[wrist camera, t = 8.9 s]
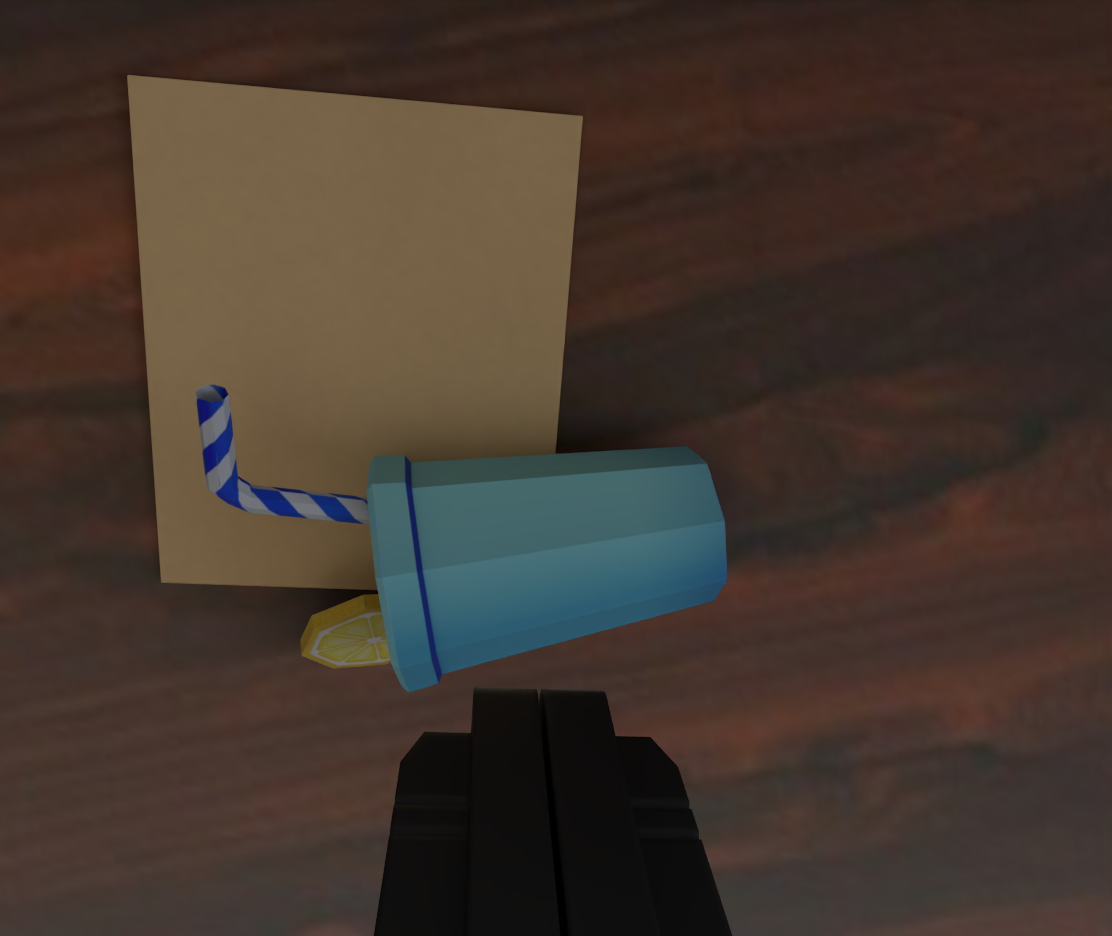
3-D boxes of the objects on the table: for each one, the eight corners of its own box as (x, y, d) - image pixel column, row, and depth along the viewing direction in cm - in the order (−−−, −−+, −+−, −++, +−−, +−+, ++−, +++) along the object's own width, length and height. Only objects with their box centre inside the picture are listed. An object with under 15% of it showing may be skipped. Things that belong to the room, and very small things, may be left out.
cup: (681, 259, 27) (189, 319, 25) (776, 402, 22) (147, 493, 20) (659, 563, 36) (295, 624, 35) (721, 721, 31) (288, 804, 29)
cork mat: (581, 116, 28) (582, 115, 28) (543, 592, 33) (543, 596, 33) (130, 75, 27) (126, 74, 26) (163, 579, 32) (160, 582, 32)
